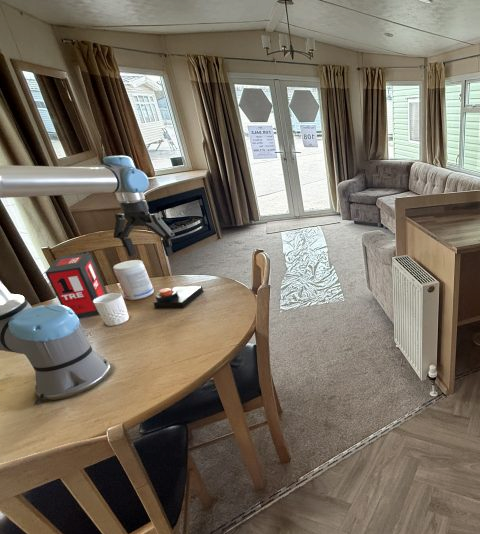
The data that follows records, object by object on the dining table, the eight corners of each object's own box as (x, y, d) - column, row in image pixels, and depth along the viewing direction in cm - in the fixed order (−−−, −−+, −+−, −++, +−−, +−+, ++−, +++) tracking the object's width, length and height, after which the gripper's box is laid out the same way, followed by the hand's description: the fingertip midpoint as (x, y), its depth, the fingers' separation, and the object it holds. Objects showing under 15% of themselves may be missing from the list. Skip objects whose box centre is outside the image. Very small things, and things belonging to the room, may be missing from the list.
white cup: (136, 316, 130) (127, 293, 126) (117, 327, 123) (106, 304, 119) (118, 314, 131) (108, 292, 127) (97, 326, 124) (86, 302, 120)
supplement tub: (158, 289, 150) (147, 258, 144) (147, 299, 142) (135, 267, 136) (133, 291, 148) (121, 260, 142) (120, 301, 140) (106, 269, 134)
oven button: (168, 297, 136) (166, 292, 136) (158, 297, 136) (156, 292, 135) (174, 292, 140) (173, 287, 139) (164, 292, 140) (163, 288, 139)
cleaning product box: (100, 314, 131) (79, 267, 123) (69, 320, 127) (45, 272, 118) (108, 296, 144) (90, 252, 135) (80, 301, 139) (59, 256, 131)
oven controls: (183, 308, 137) (180, 298, 135) (154, 308, 136) (150, 298, 134) (203, 291, 149) (200, 282, 147) (176, 291, 149) (173, 282, 147)
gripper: (175, 198, 126) (190, 251, 135) (104, 198, 125) (124, 251, 133) (161, 203, 120) (179, 258, 128) (86, 202, 118) (109, 258, 126)
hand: (151, 254), depth 131 cm, fingers open, 13 cm apart
